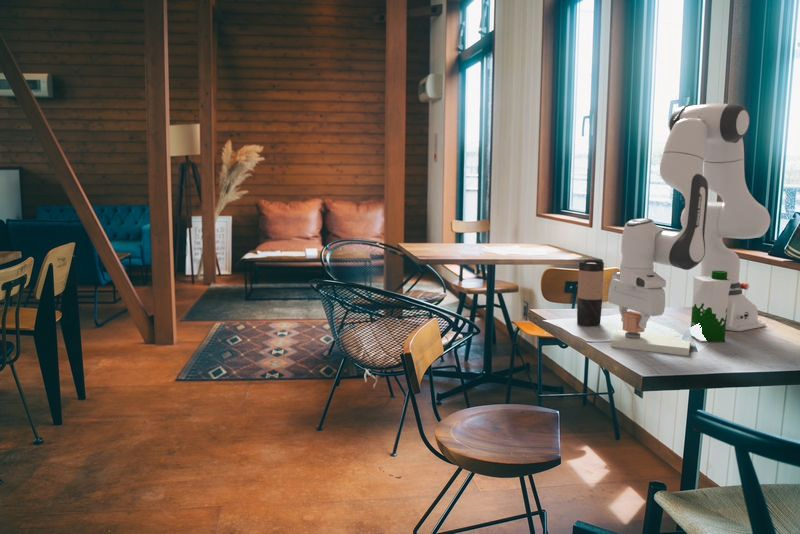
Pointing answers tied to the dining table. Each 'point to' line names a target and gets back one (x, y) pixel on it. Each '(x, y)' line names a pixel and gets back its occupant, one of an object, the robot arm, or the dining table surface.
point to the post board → (650, 342)
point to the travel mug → (590, 293)
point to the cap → (632, 322)
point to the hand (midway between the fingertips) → (633, 325)
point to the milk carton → (711, 305)
